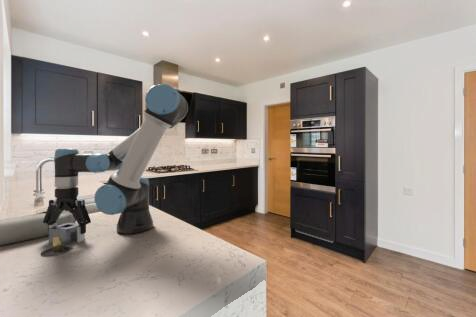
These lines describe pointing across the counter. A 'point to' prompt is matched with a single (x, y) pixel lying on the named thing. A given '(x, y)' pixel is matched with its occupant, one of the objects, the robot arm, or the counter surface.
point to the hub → (56, 248)
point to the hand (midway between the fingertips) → (67, 241)
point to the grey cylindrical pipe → (28, 227)
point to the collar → (64, 233)
